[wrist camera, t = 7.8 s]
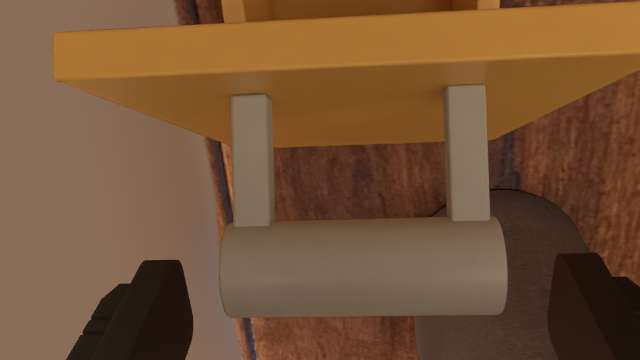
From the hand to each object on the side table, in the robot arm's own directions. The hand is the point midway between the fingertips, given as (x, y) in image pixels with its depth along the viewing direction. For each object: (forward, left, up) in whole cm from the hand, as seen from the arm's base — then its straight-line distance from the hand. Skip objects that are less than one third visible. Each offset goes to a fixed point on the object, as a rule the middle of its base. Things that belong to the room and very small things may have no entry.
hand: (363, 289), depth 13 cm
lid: (-2, -1, -5) cm, 6 cm away
